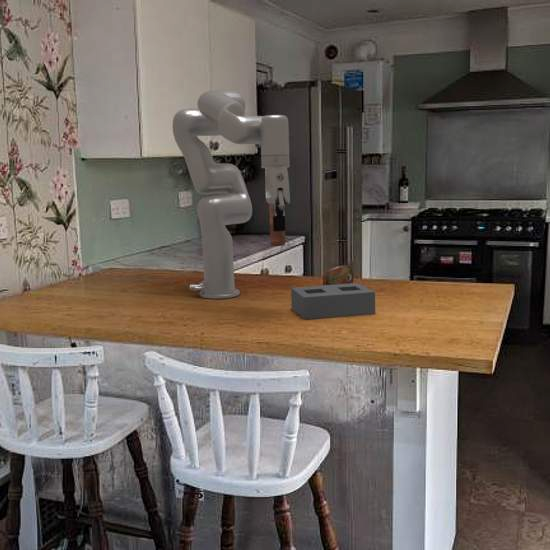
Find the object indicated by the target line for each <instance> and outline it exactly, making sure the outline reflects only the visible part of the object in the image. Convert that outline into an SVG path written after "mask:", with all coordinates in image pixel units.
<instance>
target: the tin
mask: <svg viewBox="0 0 550 550" xmlns="http://www.w3.org/2000/svg"><path fill="white" fill-rule="evenodd" d="M351 283H354V273H353V269H352V267H351V266H350V265H348V264H347V265H338V266H336V267H333V268H328V269H327V270H325V271H324V274H323V276H322V286H323V285H337V284H351Z"/></svg>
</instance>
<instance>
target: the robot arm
mask: <svg viewBox="0 0 550 550" xmlns="http://www.w3.org/2000/svg"><path fill="white" fill-rule="evenodd" d="M245 111H246V101H245V99H244V96H243V95H242V94H241V93H239V92H238V91H234V90H217V89H216V90H213V89H211V90H207V91H204V92H203V93H201V94H200V95H199V97H198V99H197V108H194V107H193V108H185V109H180V110H179V111H177V112H176V113H175V114H174V116H173V119H172V133H173V137H174V140H175V143H176V145H177V147H178V149H179V150H180V153H181V154H182V157H183V158H184V159H185V164H186V166H187V170H188V173H189V176H190V180H191V181H192V184H193V187H194V190H195V191H196V192H197V193H198V194H200V195H206V196H204V197H202V198H201V199H200V200H199V202H198V203H197V209H196V210H197V217H198V220H199V225H200V231H201V242H202V245H201V246H202V258H203V259H202V260H203V263H202V265H203V280H202V281H201V282H199V283H198V284H195V283H192V284H191V283H190V284H189V291H194V292H197V291H200V292H199V296H200V298H204V299H213V300H214V299H215V300H216V299H229V298H230V299H231V298H234V297H238V296H239V295H241V294H240V289H237V288H236V287H235V268H234V267H235V265H234V244H233V243H234V242H233V241H234V240H233V237H232V234H231V233H230V232H229V230H228V229H227V227H226V226H228V225H236V224H237V225H239V224H245V223H246V222H248V221H250V219H251V217H252V216H253V205H252V201H251V198H250V195H249V192H248V188H247V186H246V184H245V183H246V182H245V180H244V178H243V175H242V172H241V171H240V169H239V168H238V167H237V166H236V165H234V164H233V163H217V162H216V161H215V160H214V157H213V155H212V152H211V150H210V148H209V147H208V146H207V144H206V143H205V142H204V141H202V140H201V139H200V138H199V137H210V136H211V137H216V136H221V137H223V138H224V139H226V140H227V141H229V142H231V143H233V144H236V145H254V144H255V145H260V155H261V156H260V157H261V158H260V159H261V160H260V161H261V169H265V171H264V173H265V175H264V176H265V181H264V183H265V184H264V185H265V189H264V190H265V201H266V203H267V204H269V203H270V204H272V205H273V208H274V217H273V231H285V232H286V213H285V205H289V204H290V203H291V196H290V194H291V193H290V181H289V180H290V179H289V172H288V168H290V166H291V165H290V137H289V136H290V132H289V129H290V128H289V118H288V117H287V116H286V115H283V114H270V115H269V114H268V115H264V116H263V115H245V114H246V113H245ZM275 201H276V202H279V204H276V205H275V203H276V202H275ZM276 207H277V208H276ZM268 211H269V213H268V214H269V215H268V216H269V220H270V209H269V210H268Z"/></svg>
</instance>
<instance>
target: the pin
mask: <svg viewBox="0 0 550 550" xmlns="http://www.w3.org/2000/svg"><path fill="white" fill-rule="evenodd" d="M275 202H276V201H275ZM276 204H279V202H276V203H275V205H276ZM268 205H269V206H268V207H269V209H270V213H269V215H270V219H269V235H270V236H269V238H270V246H271V247H285V246H286V230H285V231H273V217H274V208H273V205H272V204H270V203H268ZM276 208H277V207H276Z"/></svg>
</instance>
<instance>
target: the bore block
mask: <svg viewBox="0 0 550 550" xmlns="http://www.w3.org/2000/svg"><path fill="white" fill-rule="evenodd" d="M290 292H291V293H290V294H291V295H290V297H291V298H290V299H291V300H290V304H291V310H293V311H294V312H295V313H296V314H298V316H300V317H301V318H302V319H303V320H314V319H325V318H339V317H348V316H349V317H350V316H363V315H374V314H376V291H374V290H372V289H370V288H368V287H366V286H364V285H362V284H361V283H359V282H353V283H351V284H337V285H323V284H322V285H314V286H313V285H312V286H299V287H297V286H295V287H291V288H290Z"/></svg>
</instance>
